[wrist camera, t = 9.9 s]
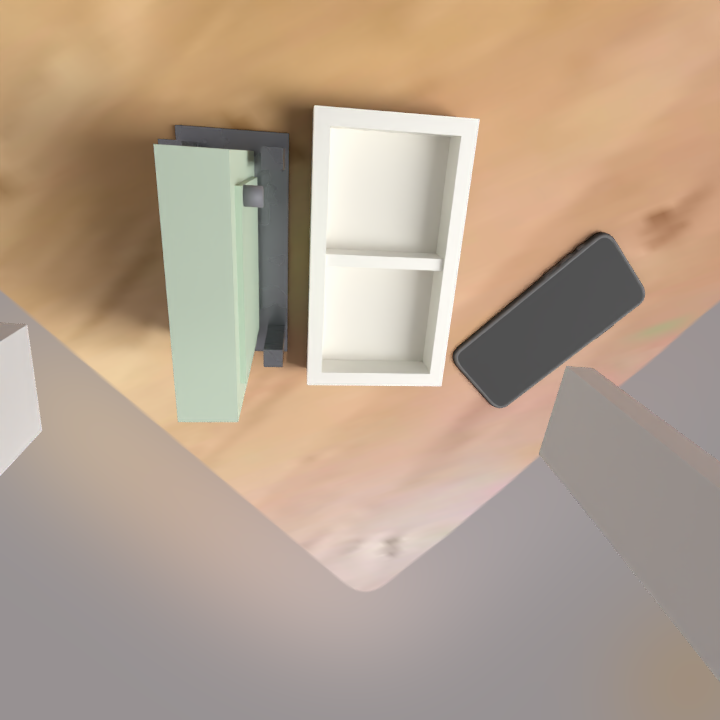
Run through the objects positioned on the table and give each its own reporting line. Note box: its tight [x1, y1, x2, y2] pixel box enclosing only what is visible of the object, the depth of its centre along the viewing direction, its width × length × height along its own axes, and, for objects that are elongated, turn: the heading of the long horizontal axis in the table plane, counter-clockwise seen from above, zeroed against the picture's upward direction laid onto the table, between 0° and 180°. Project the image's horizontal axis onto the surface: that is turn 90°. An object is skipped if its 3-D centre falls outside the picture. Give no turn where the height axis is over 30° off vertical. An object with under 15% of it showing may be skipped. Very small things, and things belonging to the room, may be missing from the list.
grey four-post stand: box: [158, 125, 289, 367], centre depth 31 cm, size 15×7×5 cm, turn 176°
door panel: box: [153, 144, 264, 422], centre depth 28 cm, size 13×4×12 cm, turn 176°
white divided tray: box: [307, 105, 480, 386], centre depth 34 cm, size 18×10×3 cm, turn 176°
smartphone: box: [453, 233, 645, 408], centre depth 39 cm, size 7×1×15 cm
